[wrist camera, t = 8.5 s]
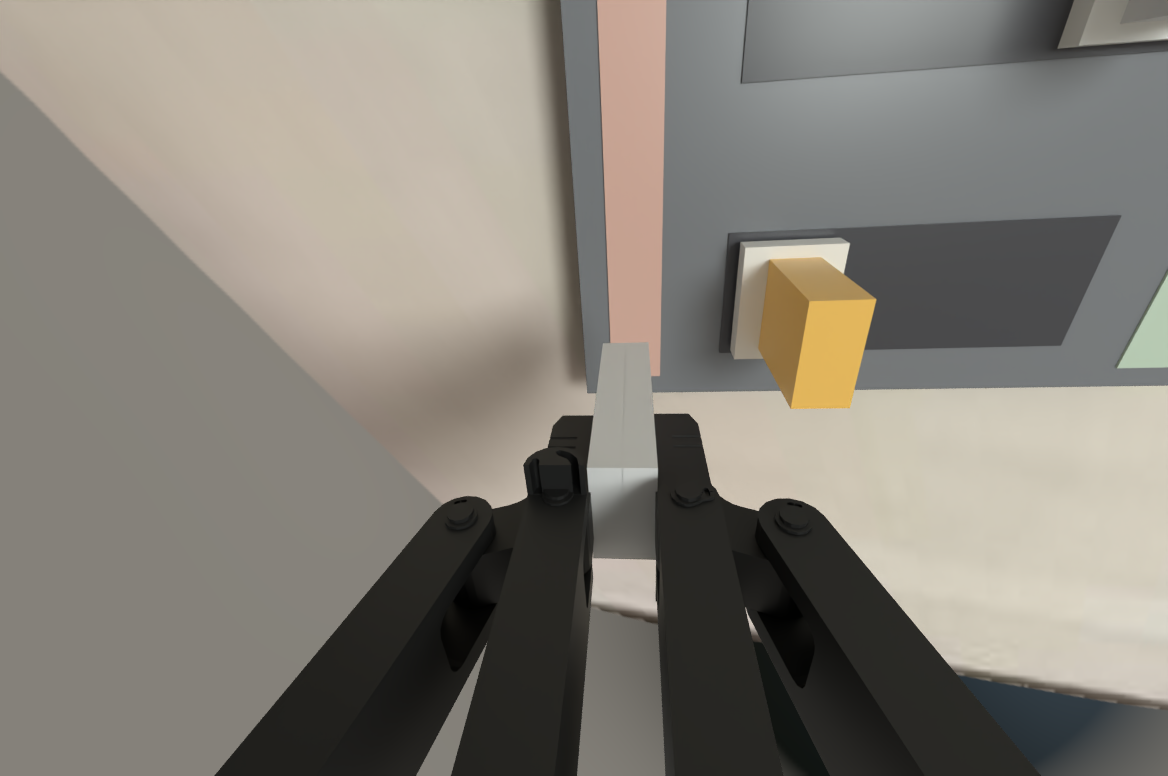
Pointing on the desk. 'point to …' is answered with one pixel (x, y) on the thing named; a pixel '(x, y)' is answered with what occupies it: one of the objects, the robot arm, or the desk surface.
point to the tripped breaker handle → (802, 318)
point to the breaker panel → (878, 181)
